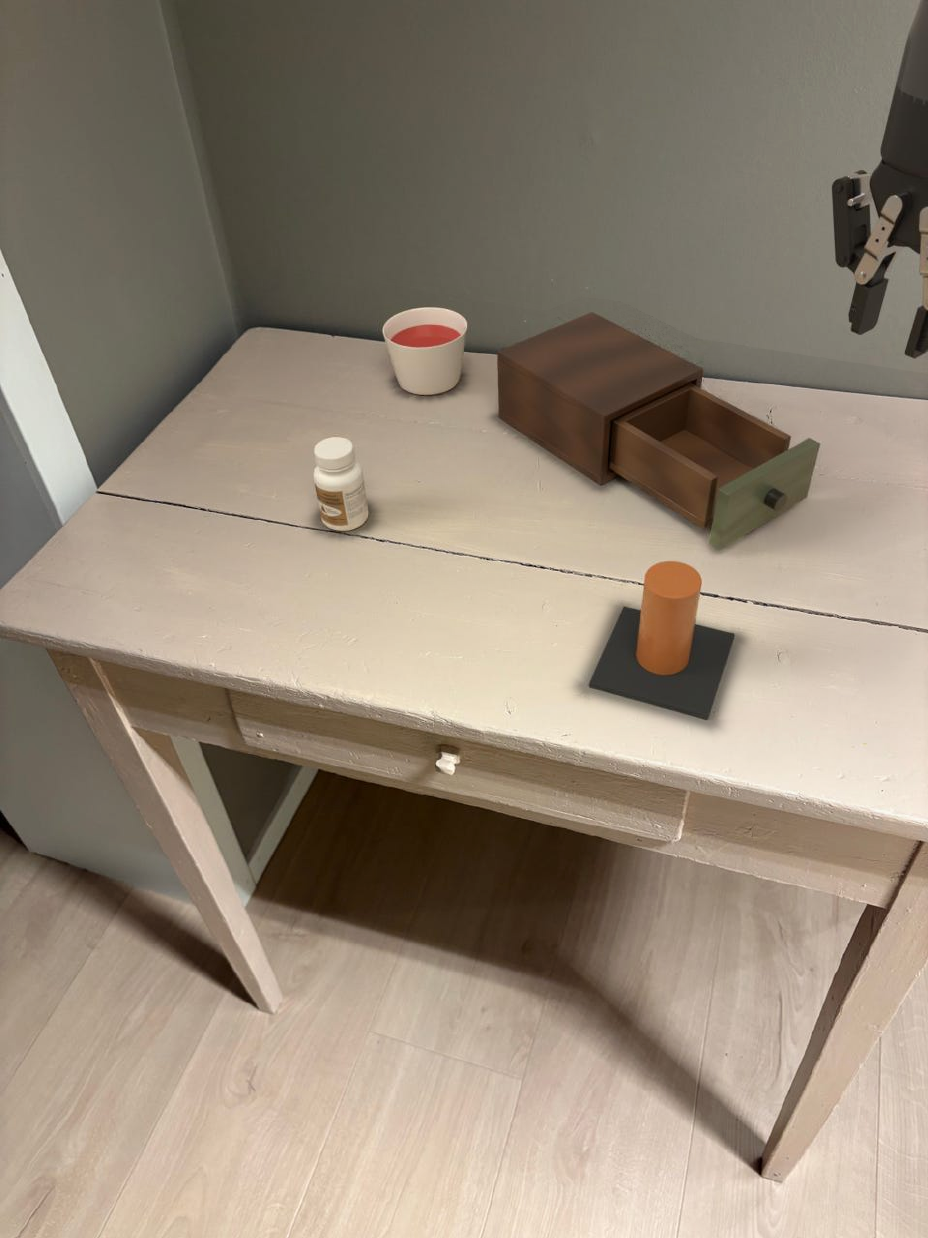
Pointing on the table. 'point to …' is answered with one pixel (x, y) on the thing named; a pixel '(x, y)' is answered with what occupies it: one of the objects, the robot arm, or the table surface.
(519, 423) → the cabinet
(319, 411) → the table surface
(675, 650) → the spice tin
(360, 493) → the pill bottle
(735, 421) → the drawer
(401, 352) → the candle
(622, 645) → the mat
